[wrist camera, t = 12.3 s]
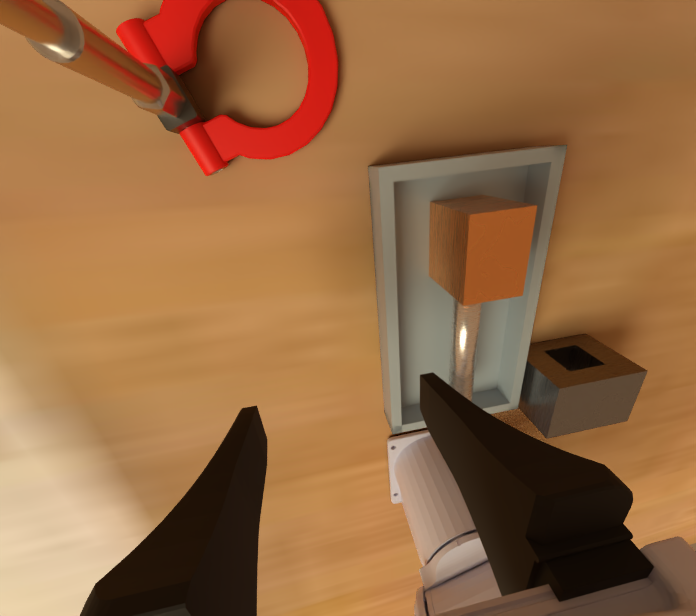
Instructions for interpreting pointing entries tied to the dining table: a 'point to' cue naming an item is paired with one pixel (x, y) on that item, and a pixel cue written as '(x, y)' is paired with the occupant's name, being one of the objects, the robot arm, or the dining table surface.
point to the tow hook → (182, 70)
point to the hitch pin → (477, 266)
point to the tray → (430, 298)
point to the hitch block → (577, 385)
